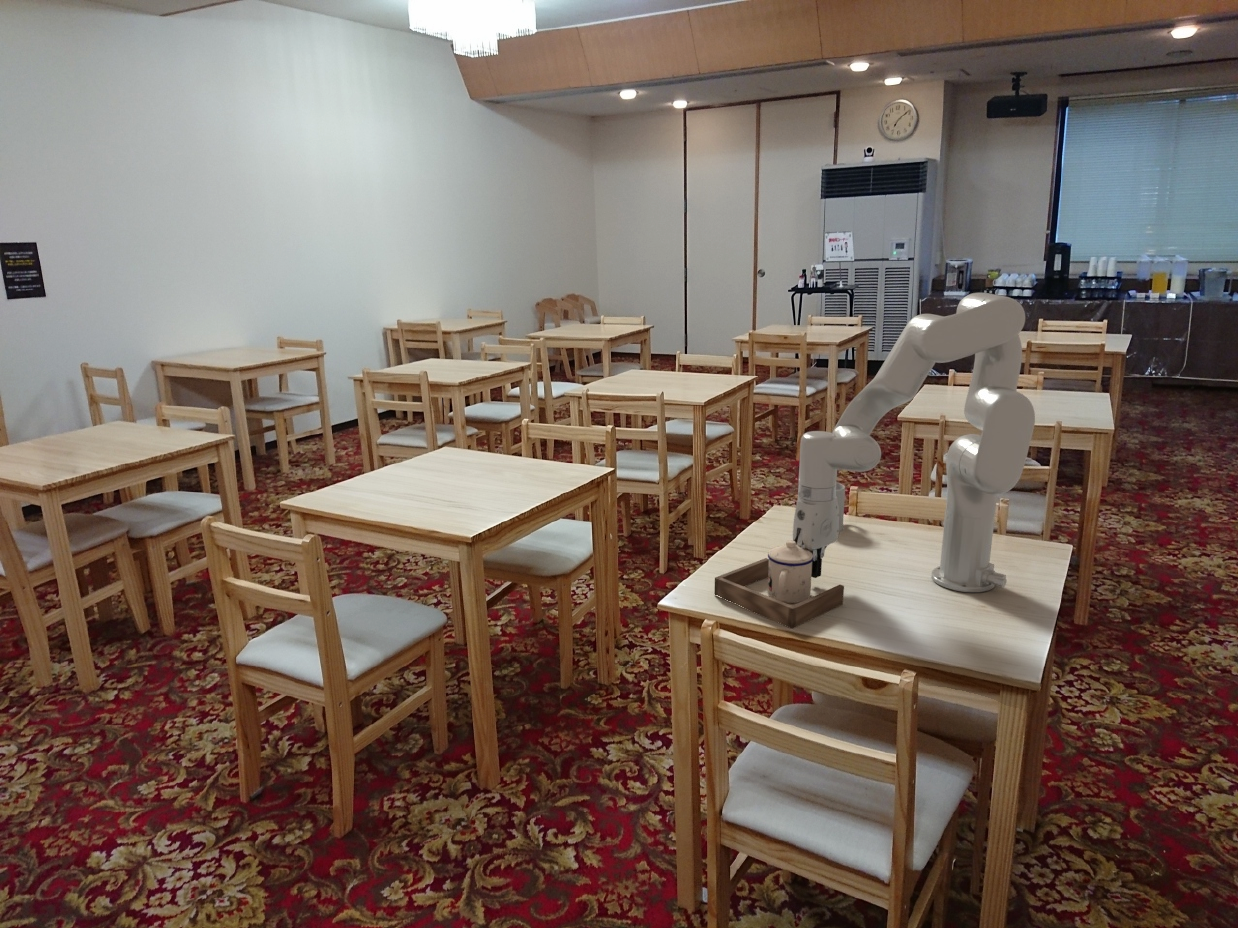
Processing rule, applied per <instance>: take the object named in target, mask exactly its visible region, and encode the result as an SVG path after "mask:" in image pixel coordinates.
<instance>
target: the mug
mask: <svg viewBox="0 0 1238 928" xmlns="http://www.w3.org/2000/svg"><path fill="white" fill-rule="evenodd" d="M836 497H837V501H838V508H839V532H841V531H842V530H843V528H844V517H845V516H844V514H845V513H844V512H845V510H844V509H845V501H846V485H844V484H842V483H840V482H838V481H836Z"/></svg>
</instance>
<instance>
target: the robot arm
mask: <svg viewBox="0 0 1238 928" xmlns="http://www.w3.org/2000/svg"><path fill="white" fill-rule="evenodd" d="M1025 323H1026V312H1025V310H1024V307H1023V306H1022V304H1021V303H1020V302H1018V301H1017V300H1016V299H1014V298H1011V297H1009V296H1005V295H999V294H994V293H988V292H987V293H986V292H973V293H970V294H968V295H966V296H965V297H963V298H961V300H960V301H959V303H958V305H957V308H956V312H955V313H954V314H950V315H949V314H948V315H947V316H943V315H939V314H932V313H921V314H918V315H915V316H914V317H913V318H911V319H910V320H909V321H908V322H907V324H906V326H905V327H904V328H903V330H902V332H901V333H900V335H899V336H898V338H897V340H896V342H895V343H894V345H893V347H892V349H891V350H890V352H889V353H888V355H887V357H885V360H884V362H883V363H882V365H881V367H880V368H879V370H878V372H877V373H876V375H875V376H874V378H873V379H871V381H870V382H868V384H866V385H865V387H864V388H863V389H862V390H861V391H860V392H859V393H858V394H857V395H856V396H854V397H853V399H852V400H851V402H849V404H848V405H847V407H846V408H845V410H844V411H843V412H842V414H841V416H840V418H839V419H838V421H837V423H836V425H835V426H834V428H833V431H832V432H828V431H823V430H813V431H812V430H811V431H807V432H805V433H803V434H802V436H801V437H800V444H799V445H800V446H799V468H798V469H799V470H798V488H797V500H796V506H795V509H794V518H793V526H792V541H795V542H796V545H798V546H800V547H801V548H804V549H807V550H809V551H810V552H811V553H812V555H813V558H814V559H813V561H812V573H811V578H814V579H817V578H819V577H821V575H822V567H823V566H822V564H823V558H824V557H825V550H826V548H827V547H828V546H829V545H831V544H833V543H835V542H837V540H838V539H839V533H840V531H839V508H838V501H837V497H836V482H837V477H838V470H843V471H850V472H857V473H858V472H860V473H861V472H868V471H870V470H872V469H874V468H876V466H878V464H879V463H880V461H881V457H882V450H881V446H880V445H879V443H878V442H877V441H876V440H875V439H874V438H873V437H872V436H871V434H872V432H873V430H874V428H875V427H876V426H877V424H878V422H879V421H880V420H881V419H882V418H883V417H884V416H885V415H886V414H887V413H888V412H890V411H891V410H892V409H895V408H897V407H899V406H903V405H904V404H906V403H909V402H911V400H913V399H914V398H915V397H916V395H917V394H918V391H919V390H920V388H921V387H922V385H923V383H924V382H925V380H926V378H927V377H928V376H929V374H930V372H931V370H932V369H933V367H934V366H935V364H936V363H938V364H941V363H943V364H944V363H950V362H953V361H956V360H957V361H958V360H960V359H964V358H966V357H970V356H973V355H974V363H973V369H972V374H971V377H970V378H971V379H970V383H969V387H968V391H967V395H966V399H965V402H964V408H963V409H964V410H963V413H964V418H965V419H966V420H967V422H968V423H969V424H970V425H971V426H973V427H974V428H977V429H978V430H980V431H981V434H977V433H968V434H964V435H961V436H959V437H958V438H956V439H955V440H954V441H953V442H952V443H951V444H950V446H949V448H948V450H947V454H946V462H945V464H946V465H945V467H946V484H947V486H946V502H945V503H946V504H945V511H944V512H945V513H944V521H943V534H942V542H941V543H942V544H941V553H940V564H939V566H937V567H935V568H933V569H932V571H931V579H932V581H934V583H935V584H937V585H939V586H941V587H943V588H946V589H948V590H952V591H956V592H957V591H958V592H963V593H983V592H988V591H991V590H993V588H995V587H996V586H997V587H999V588H1000V587H1001V588H1005V587H1006V585H1007V579H1006V578H1007V575H1006V574H1004V573H999V572H996V571H995V564H994V563H991V562H990V561H991V552H992V545H993V535H994V527H995V517H996V509H997V495H1003V494H1005V493H1007V492H1009V491H1010V490H1012V489H1013V488H1014V487H1015V486H1016V485H1017V483H1018V482H1019V480H1020V479H1021V477H1022V474H1023V471H1024V468H1025V464H1026V462H1027V461H1026V460H1027V456H1028V453H1029V449H1030V445H1031V441H1032V438H1033V434H1034V428H1035V425H1036V412H1035V408H1034V405H1033V404H1032V402H1031V400H1030V399H1029V398H1028V397H1027V396H1025V395H1024V394H1023V393H1021V392H1019V391H1017V389H1018V384H1019V379H1020V373H1021V368H1022V359H1023V347H1022V342H1021V337H1020V334H1019V333H1020V332H1021V331H1022V330H1023V328H1024V327H1025Z"/></svg>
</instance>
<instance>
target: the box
mask: <svg viewBox="0 0 1238 928" xmlns="http://www.w3.org/2000/svg"><path fill="white" fill-rule="evenodd" d="M768 569H769V558H768V557H765V558H762V559H760V560H757V561H754V562H752V563H749V564H747V565H744V566H741V567H739V568H736V569H734V570H732V571H728V572H727V573H723V574H721V575H719V576H716V577H714V594H715V595H718V596H720V597H722V598H724V599H726V600H728V601H731V602H733V603H736V604H738V605H740V606H742V607H744V608H743V609H745V608H746V609H745V610H747V609H748V610H747V611H749V610H750V611H749V612H752V613H754V612H755V614H756V613H757V615H759V616H762V617H763V616H764V617H763V618H767V619H768V620H771V619H772V620H771V621H773V620H774V622H775V621H776V623H778V622H779V623H778V624H780V623H781V624H780V625H782V624H783V626H785V625H786V626H785V627H787V626H788V627H787V628H789V627H790V629H794V627H795V628H797V627H799V626H801V625H803V624H805V623H807V622H809V621H811V620H813V619H816V618H818V617H820V616H821V615H824V614H826V613H828V612H830V611H832V610H835V609H837V608H839V607H840V606H843V605H844V594H845V593H844V592H845V591H844V590H845V585H842V584H837V585H835V586H833V587H831V588H829V589H826V590H825V591H822V592H820V593H817V594H816V595H814V596H810V597H809V598H808V599H806V600H804V601H802V602H799V603H794V604H793V605H791V604H790V603H785V602H781V601H779V600H776V599H774V598H771V597H770V596H769V595H766V594H763V593H761V592H758V591H756V590H754V589H751V588H748V587H747V586H749V585H751V584H752V585H753V584H754V583H757V582H759V581H761V580H764V579H767V578H768ZM766 577H767V578H766ZM744 586H745V587H744ZM714 594H713V595H714ZM726 600H725V601H726ZM728 601H727V602H728ZM733 603H732V604H733ZM738 605H737V606H738ZM740 606H739V607H740ZM742 607H741V608H742ZM804 622H805V623H804ZM800 624H801V625H800ZM798 625H799V626H798ZM796 626H797V627H796Z"/></svg>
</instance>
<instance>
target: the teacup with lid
mask: <svg viewBox="0 0 1238 928" xmlns="http://www.w3.org/2000/svg"><path fill="white" fill-rule="evenodd" d="M767 559H769V569H768V577H767V596H769V597H771V598H774V599H776V600H779V601H781V602H784V603H786V604H798V603H800V602H802V601H804V600H806V599H809V598H811V590H812V577H811V573H812V561H813V559H814V558H813V555H812V553H811V552H810V551H809V550H807V549H804V548H801V547H800V546H798V545H796V542H795V541H793V539H792V540H787V541H786V543H785V544H782V545H779V546H775V547H772V548H771V549H770V550H769V551H768V554H767Z"/></svg>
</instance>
